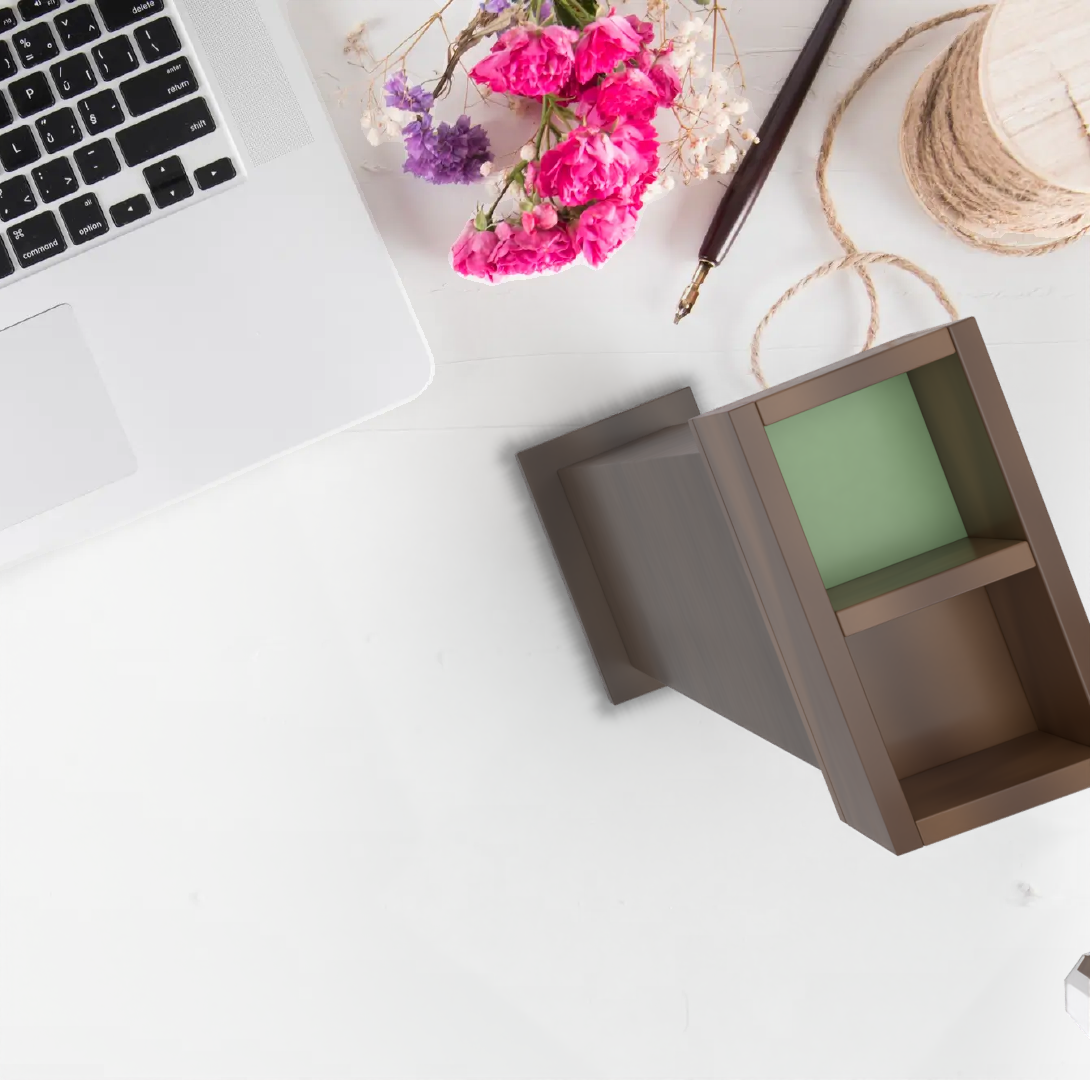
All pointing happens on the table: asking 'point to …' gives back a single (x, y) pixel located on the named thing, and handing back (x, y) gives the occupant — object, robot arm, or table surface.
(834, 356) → the table surface
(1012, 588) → the box
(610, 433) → the stand
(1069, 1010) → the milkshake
